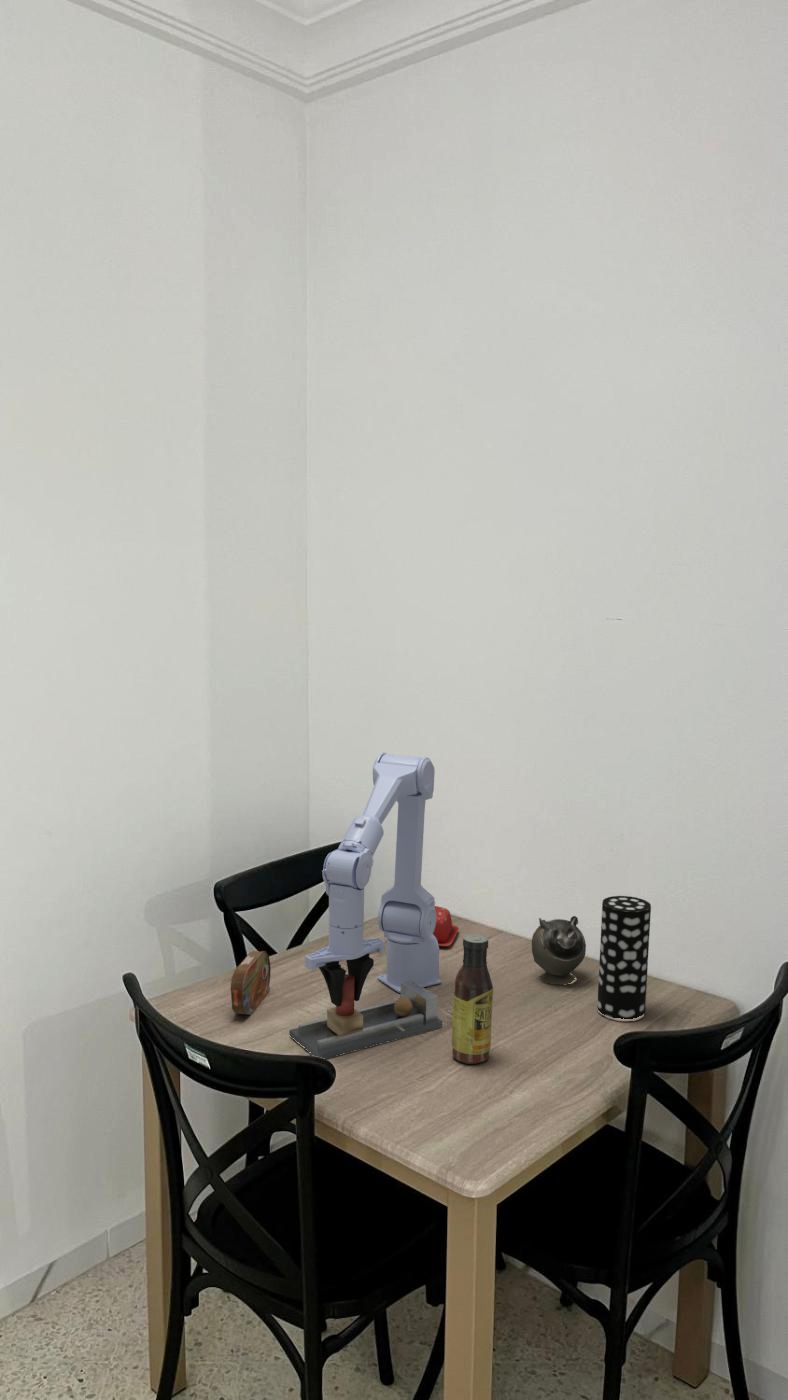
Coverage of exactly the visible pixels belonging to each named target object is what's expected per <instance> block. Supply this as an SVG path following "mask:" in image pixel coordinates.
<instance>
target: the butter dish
mask: <svg viewBox="0 0 788 1400" xmlns="http://www.w3.org/2000/svg"><path fill="white" fill-rule="evenodd" d="M435 911H436V926H435V929H434V932H433V935H434V936H435V937H436V939H437V941H438V945H439V947H449V946H451V945H452V944H453V942H454V940H455V938H456V936H457V934H458V933H459V926H458V925H457V926H456V925H453V921H452V915H451V912H450V910H449V909H448V908H446V907H442V906H439V905H438V906H437V905H435Z"/></svg>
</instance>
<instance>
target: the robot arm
mask: <svg viewBox="0 0 788 1400" xmlns="http://www.w3.org/2000/svg"><path fill="white" fill-rule="evenodd" d="M372 765H373V766H372V782H373V787H372V791H371V792H370V795H369V798H368V800H367V802H366V805H365V808H364V811H363V813H362V815H358V816H355V817H354V818H353V819H352V821H351V823H350V825H349V827H348V829H347V830H346V832H345V834H344V836H343V839H341V841H340V844H339V846H338V848H337V849H334V850H333V851H331V852H329V853H328V854H327V856H326V857H325V859H324V862H323V868H322V869H323V870H321V872H322V879H323V882H324V884H325V893H326V895H327V896H328V945H327V946H325V947H324V948H320V949H319V950H317V951H315V952H313V953H310V954H306V955H305V957H304V959H305V960H304V967H305V968H306V969H308V970H310V971H311V972H312V971H316V970H317V968H318V969H319V970H320V972H321V975H322V976H323V978H324V981H325V983H326V986H327V989H328V994H329V997H330V1002H331V1003H332V1004H333V1005H334V1006H335V1007H336V1006H341V1004H342V987H343V981H344V977H345V974H349V975H352V976H354V977H355V988H354V1002H358V1001H360V999H361V995H362V990H363V988H364V985H365V983H366V982H365V981H366V980H367V977H368V975H369V973H370V972H371V970H372V968H374V964H375V961H374V959H373V958H372V957H371V956H370V955H372V954H375V953H378V954H383V953H386V973H385V974H381V975H378V976H377V980H378V981H380V982H381V983H383V984H385V985H386V986H387V987H390V988H391V989H392V990H393V991H394V992H395V991H396V992H397V993H398V994H401V983H403V982H408V981H414V982H415V983H417V984H419V985H420V986H422V987H423V988H425V987H426V988H427V987H431V986H434V985H439V984H441V983H442V980H441V979H440V976H439V975H440V946H439V945H438V941H437V939H436V937H435V936H434V935H433V932H434V929H435V926H436V911H435V906H436V901H435V897H434V896H433V894H432V893H430V891H428V890H427V889H426V888H425V887H424V886H423V885H422V869H423V868H422V867H423V851H424V832H425V831H424V829H425V813H426V812H425V811H426V809H425V808H426V801H427V800H430V799H431V800H432V799H433V797H434V789H435V771H436V770H435V766H434V764H433V762H432V760H431V759H430V757H427V756H423V757H419V756H418V757H417V756H411V755H401V754H394V753H393V754H391V753H386V752H381V753H379V754H378V755H377V757H376V758H375V760H374V762H373V764H372ZM396 802H397V804H398V805H397V823H396V825H397V826H396V844H395V866H394V882H393V883H394V884H393V885H392V886H390V887H389V888H388V889H386V890H385V891H384V892H383V893H382V894H381V897H380V898H381V899H380V905H379V909H378V912H377V924H378V927H379V930H380V931H381V932H383V938H386V941H387V942H386V941H385V940H384V939H382V938H379V937H377V938H376V937H375V938H370V939H364V937H365V936H364V934H365V933H364V928H365V925H364V924H365V923H364V921H365V918H364V917H365V887H366V886H367V885H368V883H369V881H370V878H371V875H372V874H371V873H372V867H373V866H374V865H373V864H374V859H373V858H374V855H375V853H376V851H377V849H378V847H379V844H380V843H381V841H382V840H383V837H384V828H383V826H382V825H383V823H384V821H385V819H386V818H387V817H388V815H389V814H390V811H392V809H393V807H394V805H395V804H396ZM386 948H387V949H386ZM344 961H345V963H346V966H347V970H346V969H344V968H343V967H341V966H342V965H341V964H340V962H344Z"/></svg>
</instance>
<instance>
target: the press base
mask: <svg viewBox="0 0 788 1400" xmlns="http://www.w3.org/2000/svg"><path fill="white" fill-rule="evenodd" d="M399 996H400V997H399V998H402V997H405V998H408V999H409V1000H410V1001H411V1002H412V1005H413V1009H412V1012H411V1013H410V1014H409V1015H408V1016H405V1017H402V1016H399V1015H397V1014H396V1012H395V1010H394V1004H395V1002H396V1000H397V999H396V1000H391V1001H387V1002H384V1003H380V1004H376V1005H372V1006H367V1007H364V1008H360V1009H356V1010H357V1011H358V1012H359V1013H361V1014H362V1015H363V1029H360V1030H356V1031H352V1032H348V1033H344V1034H341V1035H337V1034H336V1033H335V1032H334V1031H332V1030H331V1029H330V1028H329V1027H327V1017H325V1018H321V1019H320V1018H319V1019H316V1020H313V1021H309V1022H308V1021H307V1022H303V1023H301V1024H300V1023H299V1024H298V1027H295V1028H291V1029H289V1032H288V1034H289V1035H290V1036H291V1037H292V1038H294V1039H295V1040H296V1041H297V1042H299V1043H300V1044H301V1045H302V1046H304V1047H305V1049H307V1050H308V1052H311V1053H310V1054H309V1055H310V1056H311V1055H314V1056H318V1057H322V1058H325V1060H328V1059H332V1058H331V1057H333V1058H335V1056H336V1055H340V1054H343V1053H347V1052H351V1051H354V1050H358V1049H362V1048H365V1047H369V1048H371V1047H370V1046H373V1045H376V1044H380V1043H384V1044H386V1043H385V1042H387V1041H391V1042H393V1041H392V1040H395V1039H398V1040H400V1039H399V1038H402V1039H404V1038H403V1037H405V1038H408V1037H407V1036H409V1037H412V1036H411V1035H413V1036H416V1035H420V1034H422V1033H423V1032H424V1033H427V1032H431V1031H433V1030H434V1029H435V1030H438V1029H442V1028H443V1020H442V1019H441V1018H439V1017H438V1013H439V1012H438V1010H439V996H437V995H436V994H435V993H433V992H432V991H430V990H428V989H426V988H425V987H422V986H420V985H419V984H417V983H415V982H414V981H408V982H403V983H401V993H400V995H399ZM441 1027H442V1028H441ZM437 1028H438V1029H437ZM430 1030H431V1031H430ZM435 1030H434V1031H435ZM395 1041H396V1040H395ZM387 1043H388V1042H387ZM380 1045H381V1044H380ZM376 1046H377V1045H376ZM373 1047H374V1046H373ZM365 1049H366V1048H365ZM362 1050H363V1049H362ZM358 1051H359V1050H358ZM308 1052H307V1053H308ZM351 1053H352V1052H351ZM347 1054H348V1053H347ZM340 1056H341V1055H340ZM336 1057H337V1056H336Z"/></svg>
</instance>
